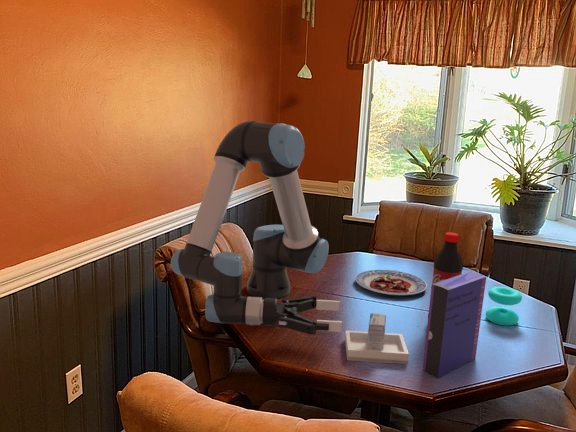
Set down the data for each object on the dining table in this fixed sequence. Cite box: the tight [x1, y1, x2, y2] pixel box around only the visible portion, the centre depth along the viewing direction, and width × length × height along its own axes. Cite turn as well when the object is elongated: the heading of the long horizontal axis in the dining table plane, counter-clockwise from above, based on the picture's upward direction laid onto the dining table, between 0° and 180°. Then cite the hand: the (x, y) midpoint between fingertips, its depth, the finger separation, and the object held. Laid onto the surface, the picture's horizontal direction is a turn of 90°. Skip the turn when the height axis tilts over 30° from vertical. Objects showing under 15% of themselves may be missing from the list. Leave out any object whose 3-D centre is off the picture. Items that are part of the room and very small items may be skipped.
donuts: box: [485, 286, 523, 326], centre depth 179 cm, size 10×10×10 cm
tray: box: [344, 330, 410, 365], centre depth 154 cm, size 12×16×3 cm
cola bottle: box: [427, 232, 464, 314], centre depth 169 cm, size 8×8×30 cm
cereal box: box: [421, 271, 487, 379], centre depth 147 cm, size 17×5×24 cm, turn 131°
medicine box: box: [367, 312, 387, 350], centre depth 154 cm, size 8×4×9 cm, turn 169°
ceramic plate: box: [355, 269, 428, 296], centre depth 206 cm, size 26×26×3 cm
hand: (340, 315), depth 153 cm, fingers open, 13 cm apart
